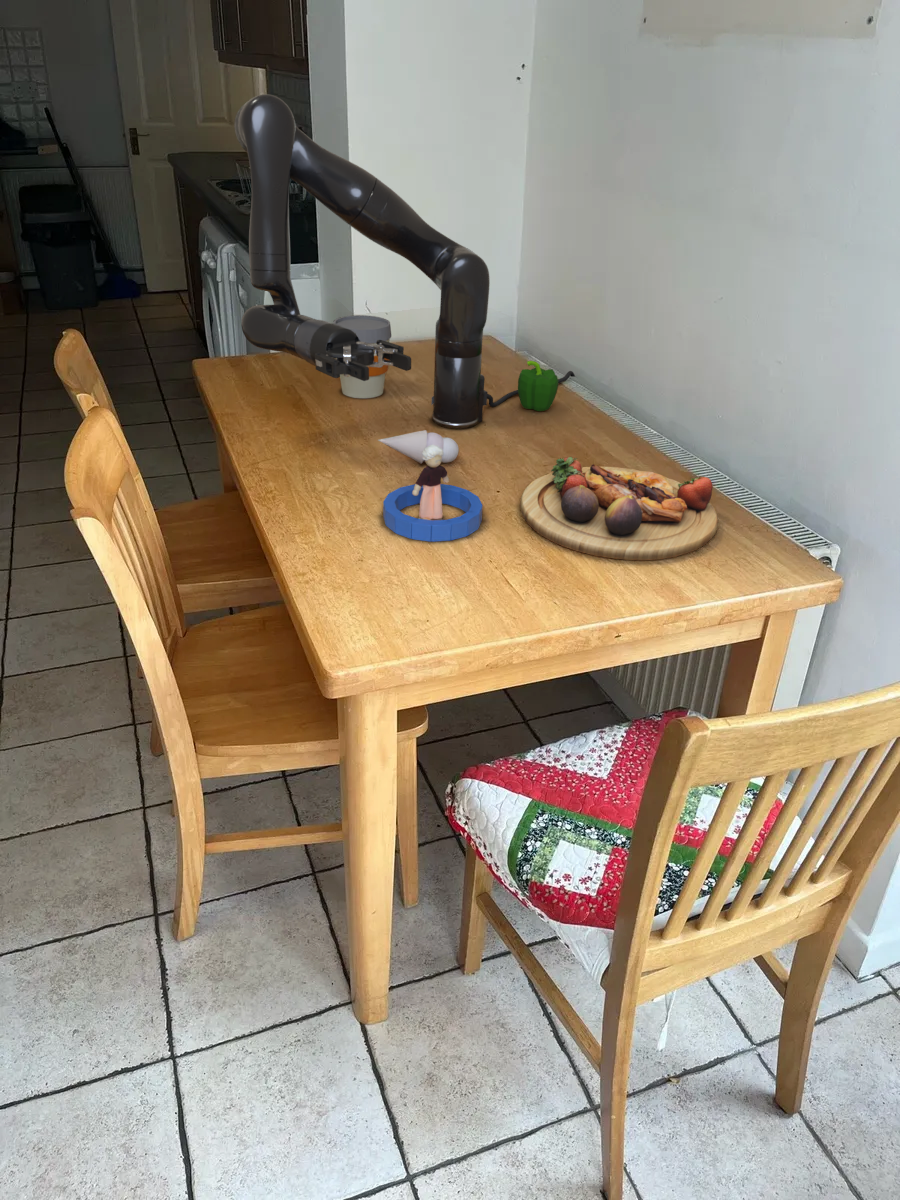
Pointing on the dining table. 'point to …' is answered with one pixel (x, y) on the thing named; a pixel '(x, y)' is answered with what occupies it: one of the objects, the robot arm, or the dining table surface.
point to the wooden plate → (620, 511)
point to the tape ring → (433, 528)
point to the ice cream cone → (422, 445)
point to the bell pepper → (537, 387)
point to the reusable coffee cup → (370, 332)
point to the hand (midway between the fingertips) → (388, 369)
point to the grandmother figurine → (431, 484)
